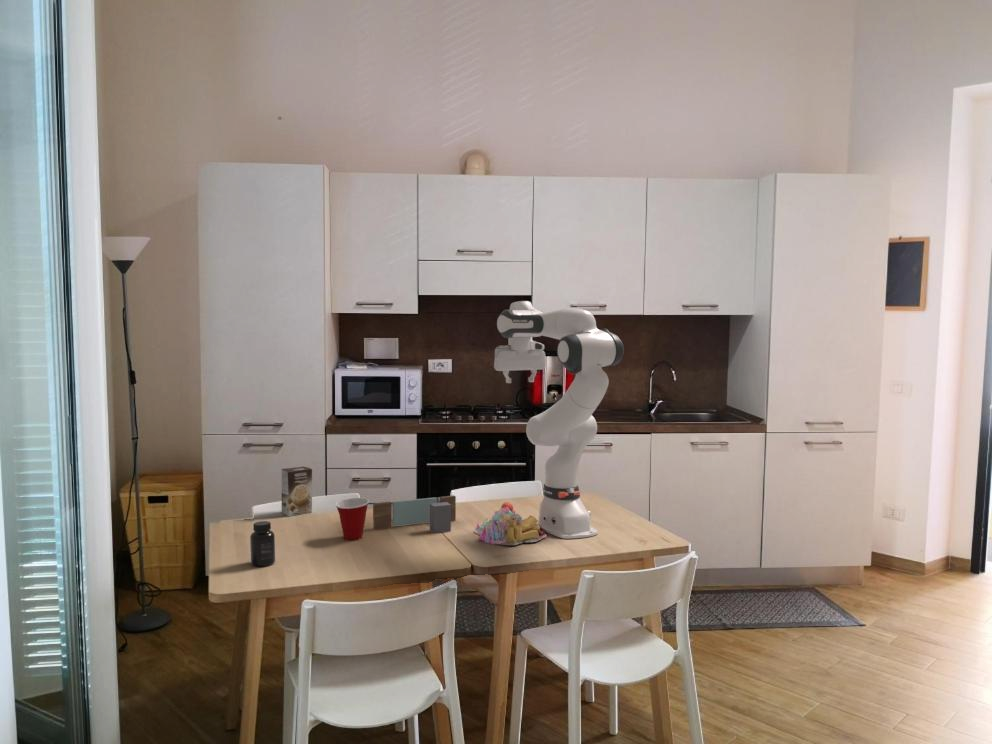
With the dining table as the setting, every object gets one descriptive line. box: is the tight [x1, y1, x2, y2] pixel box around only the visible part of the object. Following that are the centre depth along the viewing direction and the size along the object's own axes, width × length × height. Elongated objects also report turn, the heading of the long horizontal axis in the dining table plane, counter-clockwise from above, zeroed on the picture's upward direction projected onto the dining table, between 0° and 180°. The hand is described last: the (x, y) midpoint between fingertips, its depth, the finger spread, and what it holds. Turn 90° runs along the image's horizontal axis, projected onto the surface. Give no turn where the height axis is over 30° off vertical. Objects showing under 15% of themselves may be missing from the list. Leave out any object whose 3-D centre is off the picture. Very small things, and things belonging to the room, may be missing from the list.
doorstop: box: [429, 501, 452, 534], centre depth 268 cm, size 4×6×9 cm, turn 114°
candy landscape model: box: [474, 501, 549, 546], centre depth 264 cm, size 25×24×9 cm
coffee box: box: [281, 466, 313, 517], centre depth 288 cm, size 9×6×16 cm
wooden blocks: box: [372, 495, 457, 530], centre depth 275 cm, size 2×29×9 cm, turn 114°
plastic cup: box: [334, 497, 370, 541], centre depth 259 cm, size 11×11×12 cm
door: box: [391, 496, 441, 527], centre depth 275 cm, size 1×17×8 cm, turn 114°
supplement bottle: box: [249, 520, 276, 568], centre depth 233 cm, size 7×7×12 cm
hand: (519, 382), depth 298 cm, fingers open, 8 cm apart
